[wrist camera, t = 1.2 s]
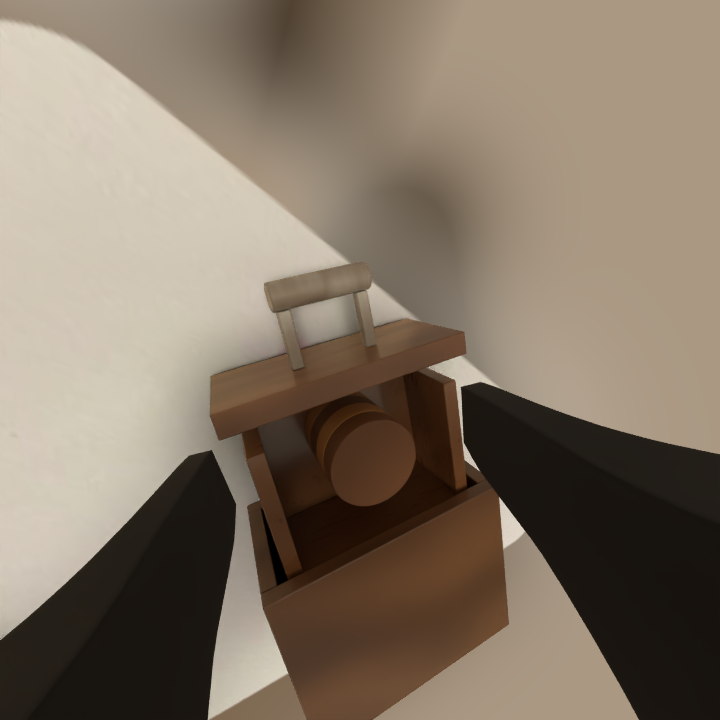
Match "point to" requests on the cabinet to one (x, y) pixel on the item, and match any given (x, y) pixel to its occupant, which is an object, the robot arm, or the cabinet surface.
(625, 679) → the robot arm
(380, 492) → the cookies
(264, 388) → the drawer
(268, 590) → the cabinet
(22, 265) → the cabinet surface
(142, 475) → the cabinet surface
